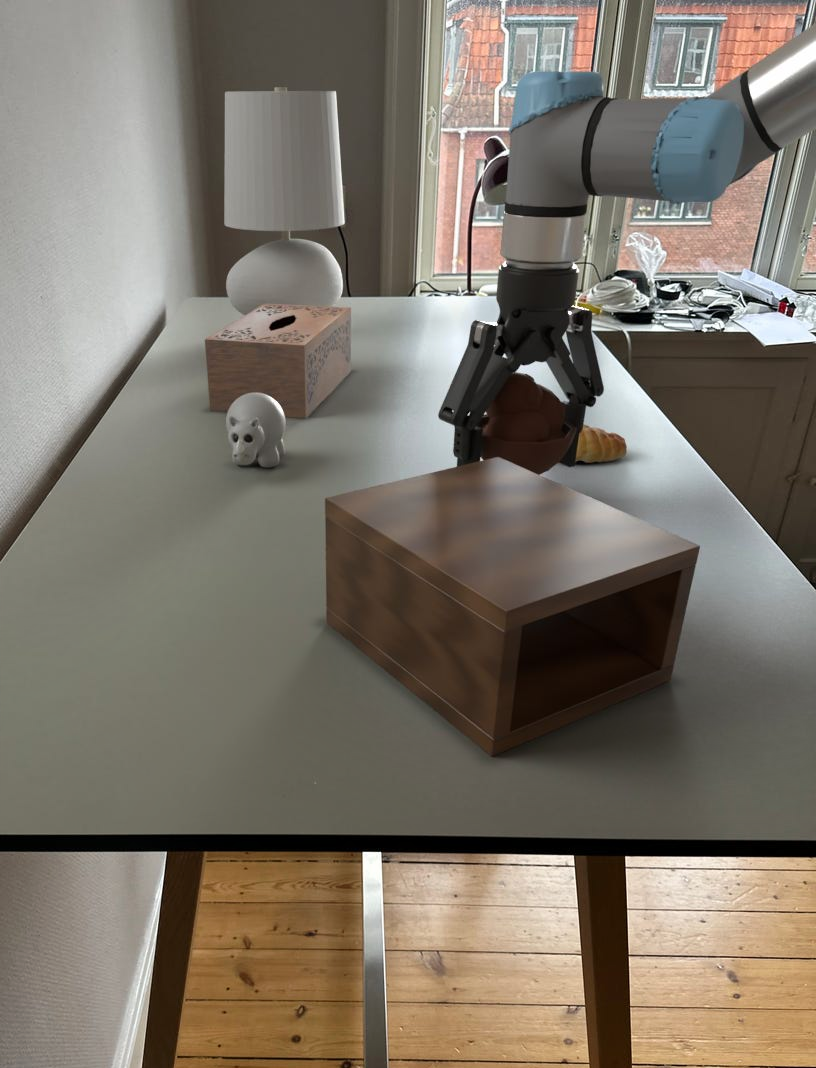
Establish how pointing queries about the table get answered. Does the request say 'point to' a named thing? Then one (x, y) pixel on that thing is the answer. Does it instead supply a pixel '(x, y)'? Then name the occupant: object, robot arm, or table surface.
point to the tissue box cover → (280, 356)
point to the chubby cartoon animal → (256, 430)
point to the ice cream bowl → (526, 425)
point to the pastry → (599, 445)
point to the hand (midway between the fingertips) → (516, 475)
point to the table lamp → (283, 195)
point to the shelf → (505, 596)
